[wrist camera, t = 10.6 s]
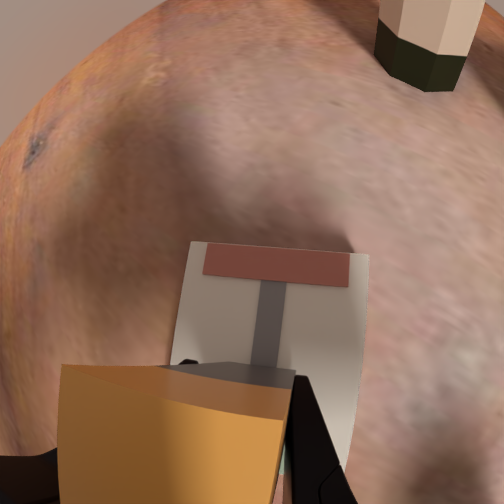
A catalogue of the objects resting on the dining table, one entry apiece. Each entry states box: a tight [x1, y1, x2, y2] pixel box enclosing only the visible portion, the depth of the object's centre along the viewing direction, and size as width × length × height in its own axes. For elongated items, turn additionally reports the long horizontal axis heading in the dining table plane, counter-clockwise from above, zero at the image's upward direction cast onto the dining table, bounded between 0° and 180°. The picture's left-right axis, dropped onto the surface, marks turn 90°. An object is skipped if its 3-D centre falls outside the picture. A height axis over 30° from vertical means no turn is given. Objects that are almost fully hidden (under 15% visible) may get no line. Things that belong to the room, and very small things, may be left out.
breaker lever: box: [57, 361, 296, 504], centre depth 8 cm, size 3×3×10 cm
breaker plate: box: [170, 241, 369, 474], centre depth 14 cm, size 11×9×2 cm
